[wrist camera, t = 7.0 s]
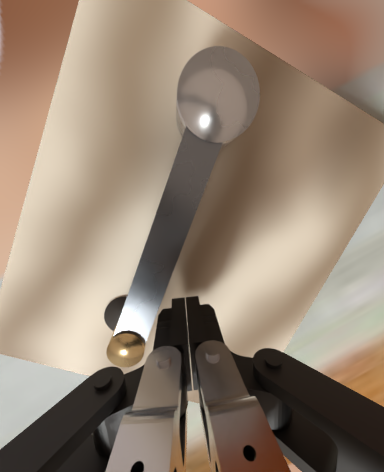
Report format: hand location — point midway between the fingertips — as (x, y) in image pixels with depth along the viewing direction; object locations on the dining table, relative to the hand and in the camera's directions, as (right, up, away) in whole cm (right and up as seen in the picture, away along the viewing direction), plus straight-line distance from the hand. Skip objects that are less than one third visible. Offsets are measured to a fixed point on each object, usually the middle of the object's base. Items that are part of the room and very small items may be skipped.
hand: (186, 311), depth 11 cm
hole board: (0, +4, +2) cm, 4 cm away
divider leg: (-1, +5, 0) cm, 5 cm away
